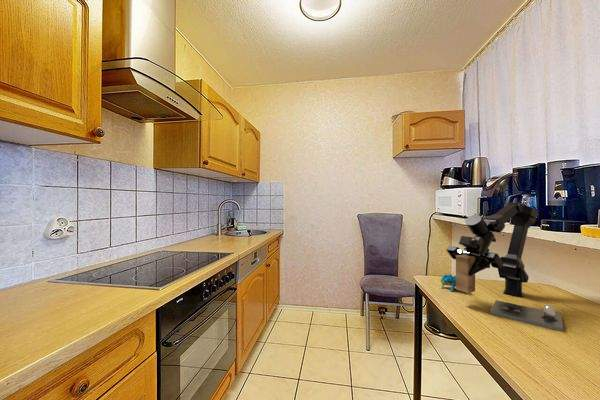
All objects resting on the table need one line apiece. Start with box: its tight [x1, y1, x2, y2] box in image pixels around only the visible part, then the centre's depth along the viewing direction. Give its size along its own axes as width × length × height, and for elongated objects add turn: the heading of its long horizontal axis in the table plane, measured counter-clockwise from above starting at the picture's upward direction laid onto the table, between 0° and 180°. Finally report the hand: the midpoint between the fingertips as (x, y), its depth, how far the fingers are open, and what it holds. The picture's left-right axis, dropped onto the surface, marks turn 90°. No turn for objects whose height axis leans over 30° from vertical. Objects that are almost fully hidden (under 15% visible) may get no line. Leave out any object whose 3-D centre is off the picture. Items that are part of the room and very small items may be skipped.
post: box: [455, 255, 476, 294], centre depth 98 cm, size 4×4×13 cm
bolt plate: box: [489, 299, 564, 333], centre depth 89 cm, size 14×18×5 cm
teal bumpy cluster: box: [439, 273, 456, 292], centre depth 116 cm, size 11×6×10 cm
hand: (463, 273), depth 98 cm, fingers closed on post, 4 cm apart
